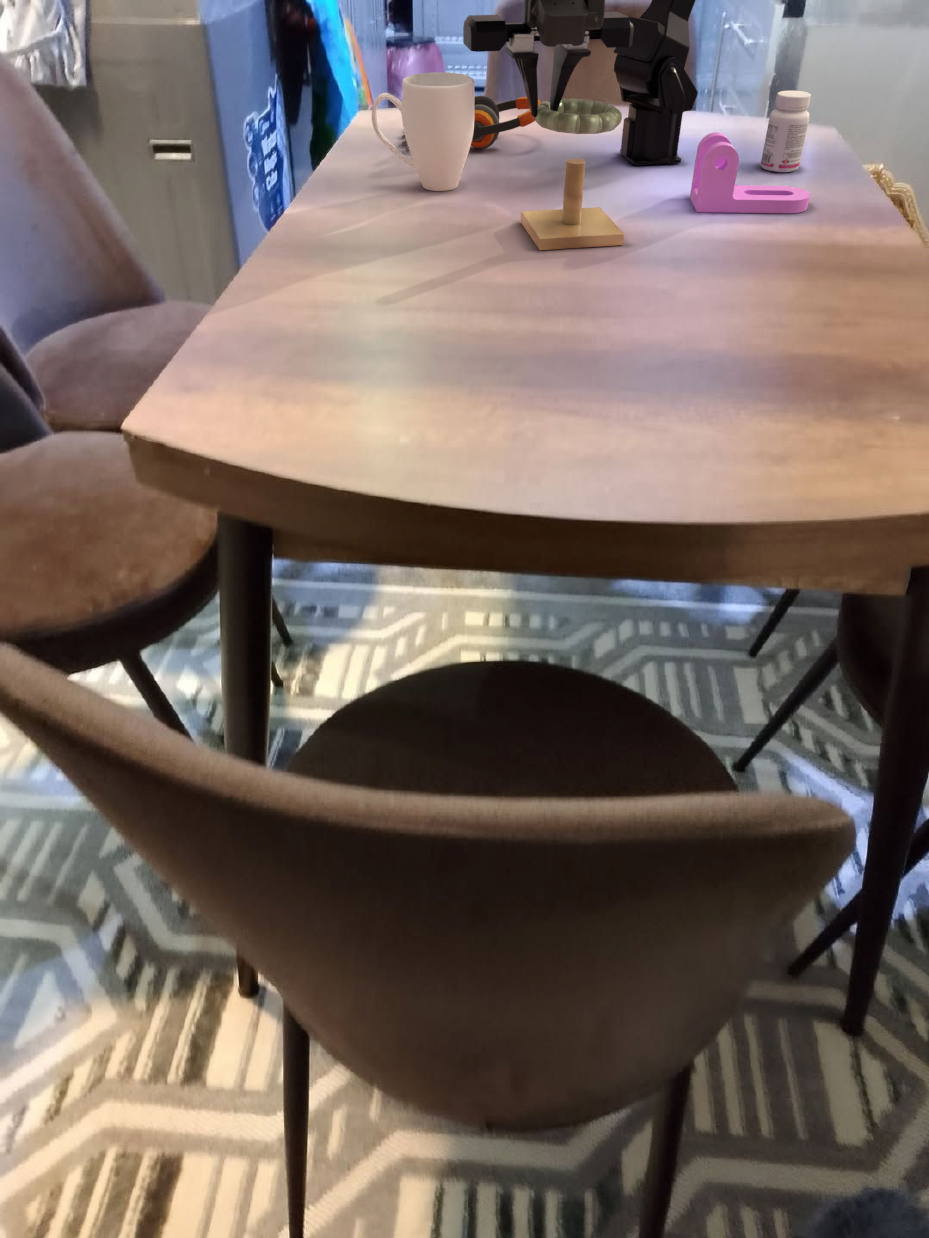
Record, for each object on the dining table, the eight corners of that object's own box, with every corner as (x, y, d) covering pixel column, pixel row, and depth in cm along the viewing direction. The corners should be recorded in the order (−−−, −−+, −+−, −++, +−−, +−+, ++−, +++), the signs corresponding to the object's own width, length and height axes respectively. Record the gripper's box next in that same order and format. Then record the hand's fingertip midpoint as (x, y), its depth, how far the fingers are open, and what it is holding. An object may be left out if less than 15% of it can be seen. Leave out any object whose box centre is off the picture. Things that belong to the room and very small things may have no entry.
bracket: (696, 212, 103) (707, 145, 99) (689, 197, 107) (699, 132, 103) (812, 213, 103) (828, 146, 98) (800, 198, 107) (815, 133, 102)
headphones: (399, 107, 131) (536, 71, 128) (409, 146, 134) (542, 112, 131) (390, 138, 118) (541, 99, 115) (401, 180, 122) (548, 143, 118)
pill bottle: (801, 165, 118) (817, 91, 112) (794, 175, 114) (811, 99, 109) (763, 161, 119) (778, 88, 114) (756, 170, 116) (771, 95, 110)
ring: (605, 115, 115) (607, 97, 114) (630, 135, 107) (633, 116, 106) (525, 116, 113) (526, 98, 112) (545, 136, 106) (546, 117, 104)
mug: (474, 176, 114) (474, 72, 107) (473, 196, 108) (474, 87, 100) (379, 176, 114) (372, 72, 107) (372, 196, 108) (365, 87, 100)
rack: (599, 218, 102) (605, 147, 97) (623, 245, 95) (631, 171, 90) (520, 222, 100) (523, 151, 96) (539, 250, 94) (543, 175, 89)
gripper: (481, -35, 92) (479, 136, 102) (658, -38, 94) (639, 129, 104) (462, -46, 100) (462, 113, 110) (625, -48, 102) (610, 107, 113)
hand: (543, 116), depth 109 cm, fingers closed on ring, 2 cm apart
